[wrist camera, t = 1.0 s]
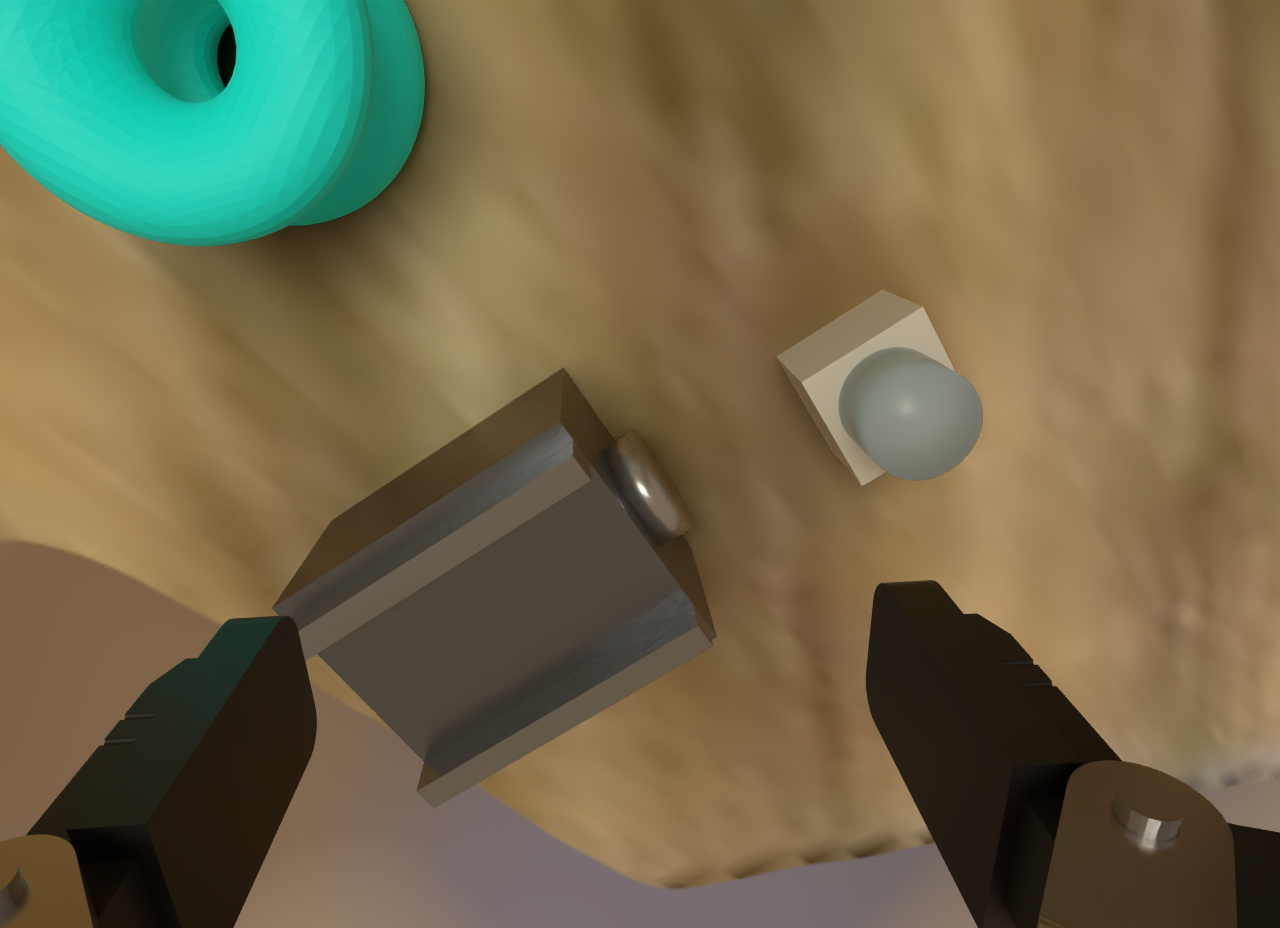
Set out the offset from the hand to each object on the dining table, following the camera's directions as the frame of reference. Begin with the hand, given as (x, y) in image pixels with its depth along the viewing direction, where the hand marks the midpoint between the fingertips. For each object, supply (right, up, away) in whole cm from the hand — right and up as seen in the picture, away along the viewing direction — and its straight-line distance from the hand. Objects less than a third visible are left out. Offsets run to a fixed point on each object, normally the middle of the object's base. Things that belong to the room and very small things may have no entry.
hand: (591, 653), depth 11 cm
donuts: (-12, +16, +17) cm, 26 cm away
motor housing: (-5, -1, +23) cm, 24 cm away
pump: (+10, +6, +22) cm, 25 cm away
